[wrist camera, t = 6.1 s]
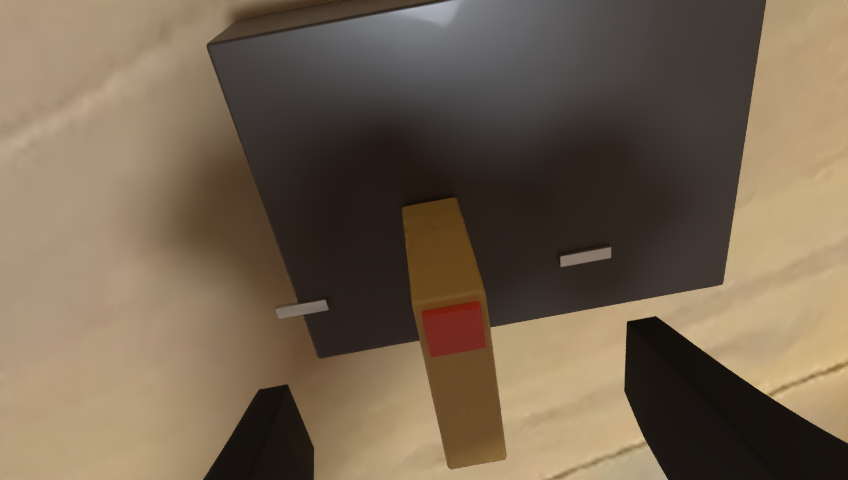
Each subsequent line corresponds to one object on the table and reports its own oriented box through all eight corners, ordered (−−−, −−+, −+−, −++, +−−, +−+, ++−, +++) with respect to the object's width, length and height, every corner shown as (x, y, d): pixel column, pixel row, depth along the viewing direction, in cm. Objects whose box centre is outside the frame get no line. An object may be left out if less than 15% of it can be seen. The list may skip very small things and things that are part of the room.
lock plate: (308, 301, 18) (297, 367, 16) (211, 24, 14) (173, 51, 11) (674, 233, 18) (727, 288, 16) (701, -69, 14) (782, -65, 11)
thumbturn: (478, 344, 16) (510, 469, 12) (431, 353, 16) (449, 480, 12) (456, 195, 14) (488, 298, 10) (401, 205, 14) (412, 312, 10)
